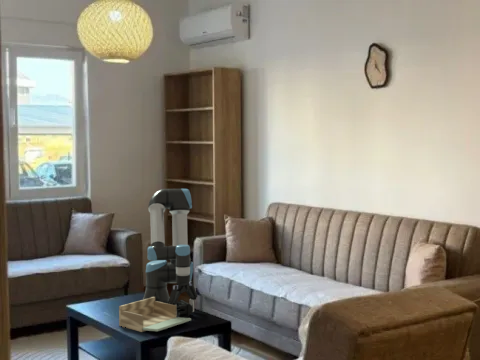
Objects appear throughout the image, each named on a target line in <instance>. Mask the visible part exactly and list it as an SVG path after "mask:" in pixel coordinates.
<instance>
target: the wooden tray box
mask: <svg viewBox="0 0 480 360" xmlns="http://www.w3.org/2000/svg"><path fill="white" fill-rule="evenodd" d="M118 316H119V317H118V325H119V327H121V326H122V328H125V327H126V328H125V329H129V330H133V331H137V332H140V333H143V332H146V331H148V330H143V328H144V327H147V326H151V325H154V324H157V323H160V322H163V321H167V320H170V319H173V318H176V305H172V304H168V303H163V302H158V301H155V297H151V298H148V299H144V300H143V299H141V300H137V301H132V302H130V303H126V304H122V305H119V306H118Z"/></svg>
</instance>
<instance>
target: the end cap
mask: <svg viewBox="0 0 480 360" xmlns="http://www.w3.org/2000/svg"><path fill="white" fill-rule="evenodd" d="M175 305H177V317H179V318H188V317H189V316H191V314H192V313H193V312H192V311H193V307H192V305H190V304H189V302H187V301H184V300H183V299H180V300H179V301H177V302H176V304H175Z"/></svg>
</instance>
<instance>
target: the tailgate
mask: <svg viewBox="0 0 480 360" xmlns="http://www.w3.org/2000/svg"><path fill="white" fill-rule="evenodd" d="M189 321H190V322H191V321H192V318H190V317H179V316H177V317H176V318H173V319H170V320H167V321H163V322H160V323H157V324H154V325H151V326H147V327H144V328H143V330H147V331H149V332H160V331H163V330H167V329H168V328H172V327H175V326H177V325H178V326H179V325H182V324H184V323H188V322H189Z"/></svg>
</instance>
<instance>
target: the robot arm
mask: <svg viewBox="0 0 480 360" xmlns="http://www.w3.org/2000/svg"><path fill="white" fill-rule="evenodd" d="M192 204H193V203H192V195H191V192H190V189H188V188H161V189H159V190H157V191H155V193H153V194H152V196H151V197H150V199H149V201H148V208H147V209H148V212H149V217H150V218H149V220H150V222H149V223H150V224H149V225H150V246H147V260H148V261H149V262H147V263H146V266H145V292H144V295H143V297H142V300H144V299H148V298H151V297H155V301H158V302H163V303H167V304H172V305H175V304H176V302H178V300H179V298H180V296H181V295H182V293H185V292H186V294H187V296H188V297H189V298H190V299H189V301H188V303H189V304H190V305H192V307H193V311H192V313H194V312H195V301H196V300H197V298H198V294H197V291H196V288H195V286H194V281H192V279H193V270H194V262H193V261H191V260H192V259H191V247H190V245H189V243H188V240H189V239H188V214H189V213H190V211H191V210H192V208H193V205H192ZM190 209H191V210H190ZM166 210H169V214H170V215H171V217H172V218H171V221H172V223H171V225H172V226H171V229H172V233H171V234H172V245H169V246H168V245H165V243H166V241H165V217H164V215H165V214H164V213H165V212H166ZM168 261H169V262H168ZM168 284H173V285H172V286H171V287H172V288H171V292H170V295H169V290H168V288H167V287H168V286H167V285H168ZM174 284H176V285H174ZM177 307H178V305H176V317H178V316H177Z"/></svg>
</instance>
